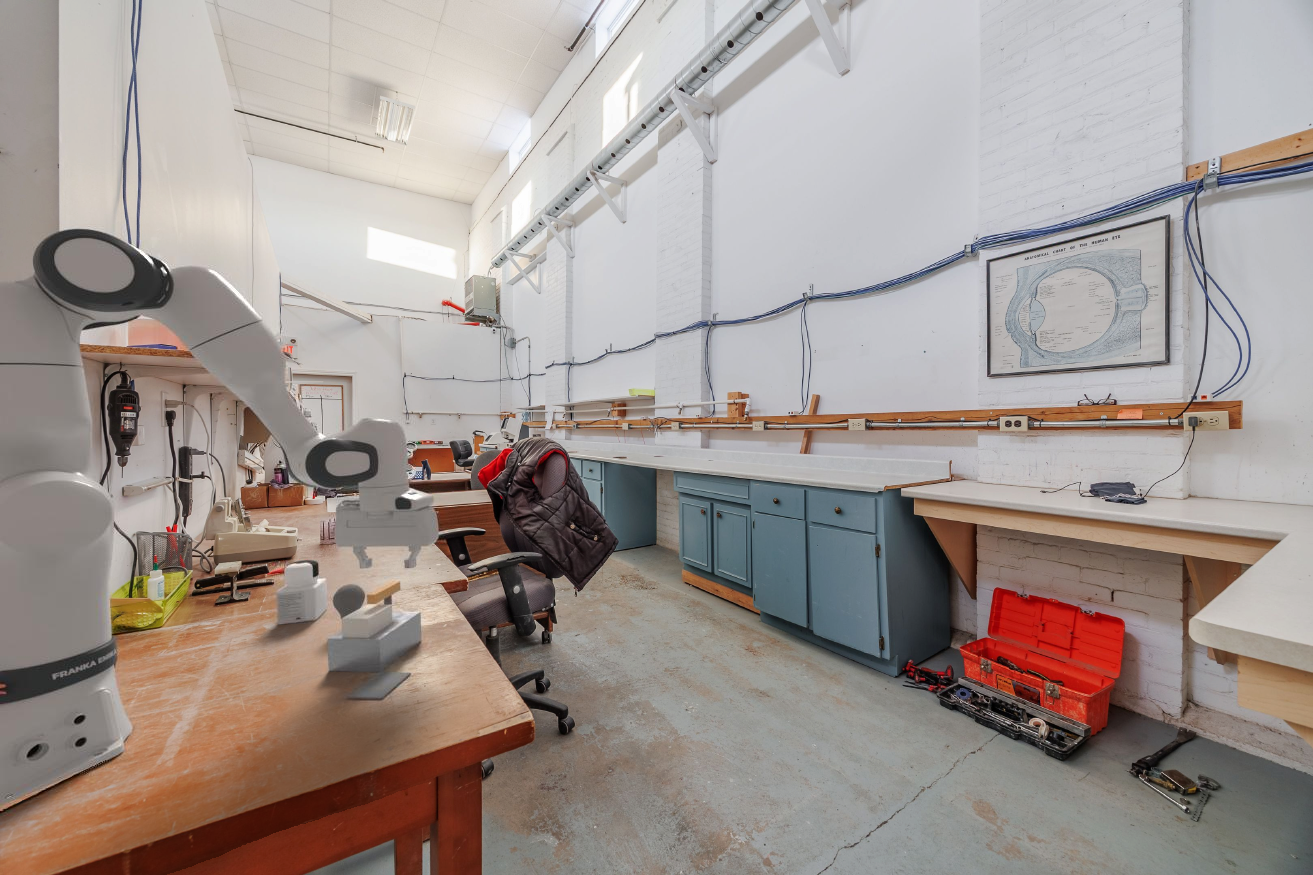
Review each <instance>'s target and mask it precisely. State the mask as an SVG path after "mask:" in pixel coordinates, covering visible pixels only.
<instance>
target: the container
mask: <svg viewBox="0 0 1313 875" xmlns="http://www.w3.org/2000/svg"><path fill="white" fill-rule="evenodd" d="M319 569H320V568H319V562H318V561H317V560H312V559H307V560H306V559H304V560H298V561H294V562H290V563H289V564H286V565H285V567H284V569H283V570H284V572H283V574H284V586H283V587H281V588H279V589H278V590H277V591H276V593H275V595H276V597H275V598H276V620H277V621H276V623H277V625H287V624H294V623H303V622H311V621H316V620H317V619H319V617H320V616H322V614H324V613H325V612H326V611H327V610H328V588H327V586H328V585H327V584H328V583H327V578H324V577H322V578H320V573H319V572H320V570H319Z"/></svg>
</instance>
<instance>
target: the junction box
mask: <svg viewBox="0 0 1313 875" xmlns="http://www.w3.org/2000/svg"><path fill="white" fill-rule="evenodd" d="M421 614H422V612H421V611H396V610H395V611H393V610H392V623H391V624H389V625H388V626H386V627H384V628H383V629H381V630H380V631H378V632H377V633H375V634H374V635H372V636H370V637H369V638H349V637H342V629H341V630H339V631H338V632H336V633H334V634H333V635H331V636H329V637H327V657H328V658H327V660H328V661H327V662H328V663H327V664H328V665H327V666H328V671H329V672H360V673H378V672H384V671H385V669H387V668H388V667H389V666H390V665H392V664H393V663H395V662H396V661H397V660H398V659H400V658H401V657H402V656H403V655H405V654H406V653H407V652H408V651H410V650H411V649H412V648H414V647H415V646H417V645H418V644H419V643H420V642H421V641H422V621H421V620H422V617H421Z"/></svg>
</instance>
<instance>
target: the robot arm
mask: <svg viewBox="0 0 1313 875" xmlns="http://www.w3.org/2000/svg"><path fill="white" fill-rule="evenodd" d="M32 266H33V270H34V272H33V274H32V275H30V276H28V277H27V278H25V279H22V280H15V281H7V280H0V807H1V806H2V805H5V804H6V803H9V802H11V801H14V800H15V799H18V798H21V797H23V796H25V795H26V794H30V793H32V792H35V791H37V790H40V789H41V788H43V787H46V786H48V785H50V784H52V783H54V782H56V781H59V780H60V779H63V778H65V777H67V776H69V775H72V774H73V773H75V772H80V771H82V770H85V769H86V768H89V767H91V766H94V765H95V764H98V763H100V762H102V763H104V762H106V761H108V760H111V759H112V758H114V757H116V756H118V755H120V754H122V753H123V751H125V743H124V742H125V740H126V739H127V738H128V737H129V735H130V734H131V732H132V731H133V728H134V727H133V724H132V722H131V721H130V719H129V716H128V715H127V714H126V709H125V708H124V705H123V702H122V700H121V695H120V692H119V688H118V683H117V679H116V678H117V677H116V671H115V668H116V666H117V662H118V648H117V647H118V646H117V638H116V636H115V635H112V619H111V618H112V615H111V597H110V596H111V595H110V594H111V592H110V579H111V572H112V570H111V569H112V560H113V549H114V536H115V535H114V533H115V532H114V530H115V529H114V528H115V525H114V524H115V504H114V500H113V498H112V496H111V494H110V492H109V491H108V489H106V488H105V487H104V486H103V485H101V484H100V483H99V482H97V481H95V474H94V473H95V472H94V461H93V457H94V456H93V418H92V411H91V407H90V405H91V404H90V399H89V394H88V387H87V380H86V375H85V369H84V363H83V358H82V351H81V333H82V331H87V330H92V329H99V328H102V327H103V328H104V327H105V328H106V327H109V326H110V327H112V326H117V325H122V324H125V323H130V322H132V321H134V320H136V319H138V318H140V317H141V316H142V317H145V318H150V319H152V320H155V321H157V322H159V323H160V324H162V325H163V326H165V327H166V328H167V329H168V330H170V331H171V333H173V334H174V335H175V336H176V337H177V339H178V340H179V341H180V342H181V343H182V345H183V346H185V348H186V350H188V351H189V353H190V354H191V356H192V357H194V359H195V360H196V361H197V362H198V363H199V364H200V365H201V366H202V367H203V368H204V369H205V370H206V371H207V372H208V373H209V374H211V376H213V377H214V378H215V380H218V382H219V383H221V384H222V385H223V386H224V387H225V388H227V389H228V390H229V391H230V392H232V393H233V394H234V395H235V396H236V397H237V398H238V399H240V400H241V401H242V402H243V403H244V404H245V405H246V406H247V407H248V408H249V409H250V410H251V411H252V413H253V414H254V416H256V417H257V419H258V420H259V421H260V422H261V424H262V425H263V426H264V427H265V429H266V430H267V431H268V433H269V434H271V436H272V437H273V439H274V440H275V441H276V443H277V444H278V445H279V447H280V448H281V451H282V454H283V458H284V464H285V468H286V470H287V472H288V474H289V475H290V477H291V478H292V479H293V480H294V481H295V482H296V483H297V484H300V485H302V486H305V487H309V488H322V489H326V490H327V489H328V490H337V489H343V488H346V487H348V486H349V487H350V486H352V485H356V484H358V499H353V500H351V499H344V500H342V501H341V502H339V503H338V504H337V505H336V509H335V517H336V518H335V522H334V536H333V538H334V543H335V544H336V546H337V547H339V548H346V547H347V548H348V547H349V548H352V553H353V554H354V556H355V557H356V559H357V560H358V562H359V568H360V569H369V568H372V566H373V557H369V556H368V554H367V552H366V551H365V550H367V547H369V548H371V547H375V548H376V547H377V548H378V547H380V548H381V547H382V548H383V547H385V548H386V547H387V548H388V547H408V552H409V553H410V555H409V557H408V558H405V559H404V561H403V563H404V565H403V566H404V568H405V569H414V568H415V567H416V566H417V557H418V556H419V554H420V552H421V550H422V547H428V546H429V547H430V546H431V545H433V544H435V543H436V542H437V540H439V535H440V534H439V533H440V532H439V531H440V530H439V522H438V514H437V512H436V510H435V508H433V507H432V505H433V504H434V502H435V498H434V496H433V495H432V494H430V493H426V492H424V491H422V490H421V491H420V490H417V489H415V488H411V487H410V483H409V482H410V481H409V478H408V475H407V468H408V467H407V466H408V463H409V458H408V457H409V456H408V446H407V438H406V435H405V430H404V428H403V427H402V425H401V424H399V423H398V422H396V421H394V420H393V421H392V420H388V419H383V418H382V419H381V418H372V417H370V418H368V417H367V418H362V419H360V420H359V421H358V422H357V423H355V424H353V425H352V426H350V427H348V428H346V429H343V430H342V431H340V432H336V433H334V434H331V435H329V436H326V435H324V434H322V433H321V432H319V431H318V430H317V429H315V427H314V426H313V425H312V423H311V422H310V421H309V420H308V418H307V417H306V415H305V414H304V413H303V411H302V410H301V409H300V407H299V406H298V405H297V403H296V402H295V401H294V399H293V398H292V396H291V395H290V393H289V390H288V388H287V384H286V367H287V366H286V365H287V359H286V356H285V353H284V350H283V349H282V347H281V345H280V343H279V341H278V340H277V338H276V336H275V335H274V333H273V331H272V329H270V327H269V326H268V325H267V323H266V322H265V321H264V320H263V319H262V317H261V316H260V314H259V313H258V312H257V311H256V310H255V308H253V306H252V305H251V304H250V303H249V302H248V300H246V299H245V298H244V297H243V295H241V293H240V292H238V290H236V288H234V287H233V286H232V284H230V283H229V282H228V281H227V279H225V278H224V277H223V276H222V275H220V274H219V273H218V272H216V271H214V270H212V269H210V268H207V267H205V266H204V267H203V266H195V265H193V266H192V265H186V266H179V267H175V268H170V267H169V266H168V265H167V263H165V262H164V261H162V260H160V259H158V258H157V257H154V256H153V255H150V254H149V253H147V252H146V251H143V250H141V249H139V248H137V246H136V247H135V245H132V244H130V243H129V242H127V241H125V240H123V239H121V238H119V237H118V236H114V235H111V234H109V233H106V232H103V231H99V230H96V229H90V228H89V229H88V228H70V229H64V230H60V231H57V232H54V233H51V234H50V235H49V236H47V237H46V238H44V239H42V240H41V242H40V243H39V244H38V245H37V247H36V248H35V250H34V253H33V256H32ZM105 760H106V761H105ZM103 761H104V762H103ZM100 764H101V763H100ZM98 765H99V764H98ZM94 767H95V766H94ZM9 796H11V797H9ZM7 797H9V798H7Z"/></svg>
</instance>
